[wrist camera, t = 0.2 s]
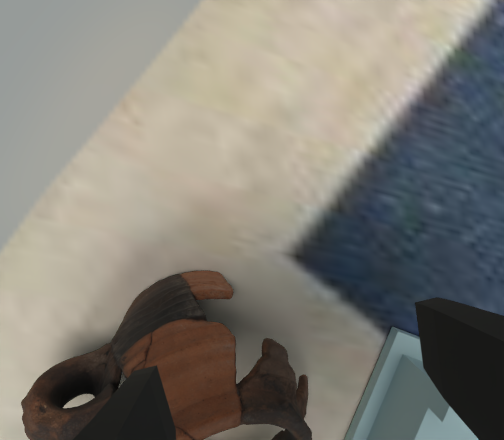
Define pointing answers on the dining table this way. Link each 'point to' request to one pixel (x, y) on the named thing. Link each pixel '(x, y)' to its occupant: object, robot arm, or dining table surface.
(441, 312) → the robot arm
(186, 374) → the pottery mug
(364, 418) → the stand
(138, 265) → the dining table surface
